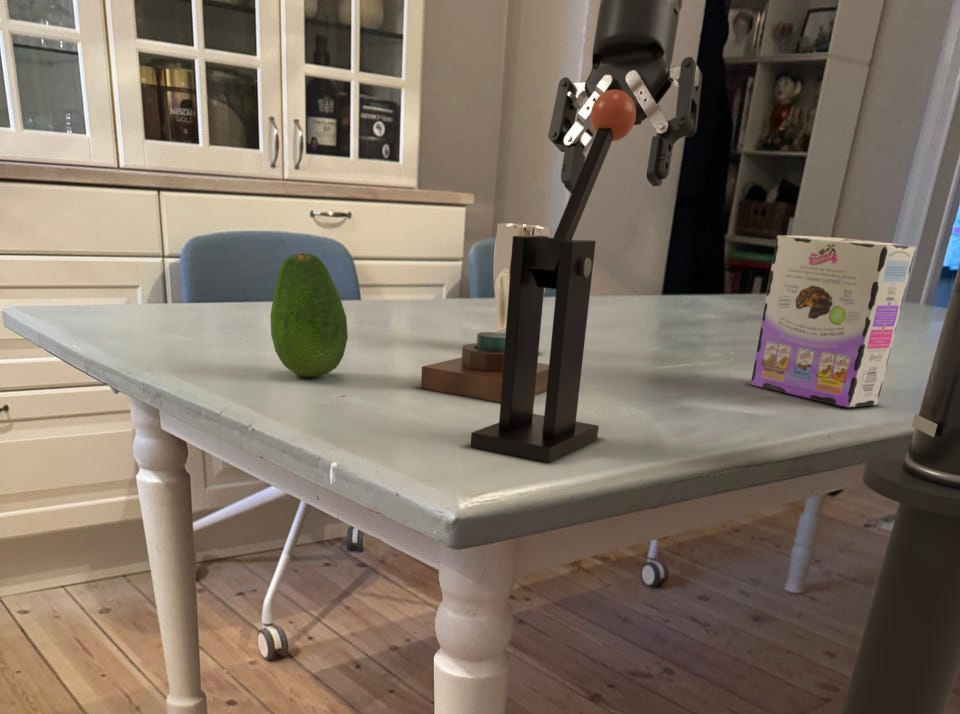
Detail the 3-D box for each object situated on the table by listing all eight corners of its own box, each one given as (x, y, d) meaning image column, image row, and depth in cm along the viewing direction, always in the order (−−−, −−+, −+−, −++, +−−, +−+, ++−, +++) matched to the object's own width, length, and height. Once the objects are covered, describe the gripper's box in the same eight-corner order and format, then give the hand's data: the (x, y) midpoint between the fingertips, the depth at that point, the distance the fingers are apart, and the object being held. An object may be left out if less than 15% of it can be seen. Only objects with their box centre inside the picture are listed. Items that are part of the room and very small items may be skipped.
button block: (557, 386, 101) (561, 348, 99) (506, 403, 91) (510, 361, 89) (477, 373, 105) (479, 336, 103) (420, 388, 95) (422, 347, 93)
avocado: (259, 372, 97) (254, 248, 92) (326, 368, 101) (325, 250, 96) (292, 387, 91) (289, 256, 86) (362, 382, 96) (363, 257, 90)
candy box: (879, 406, 103) (920, 244, 95) (847, 410, 99) (886, 243, 92) (779, 381, 112) (809, 234, 105) (747, 384, 109) (775, 232, 102)
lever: (604, 114, 77) (595, 78, 73) (645, 116, 75) (637, 78, 72) (531, 291, 74) (518, 261, 70) (573, 296, 72) (561, 265, 69)
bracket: (525, 425, 83) (541, 233, 76) (597, 439, 80) (621, 241, 73) (470, 447, 75) (483, 235, 68) (548, 463, 72) (569, 243, 65)
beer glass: (533, 348, 124) (544, 225, 117) (547, 357, 118) (559, 228, 111) (482, 346, 122) (490, 222, 116) (494, 355, 116) (503, 225, 109)
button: (516, 352, 97) (518, 335, 96) (500, 356, 94) (502, 338, 93) (486, 348, 98) (487, 330, 98) (470, 351, 96) (471, 334, 95)
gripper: (554, 1, 88) (528, 176, 89) (699, -31, 80) (669, 160, 81) (587, 46, 94) (562, 209, 95) (724, 21, 87) (696, 197, 88)
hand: (611, 186), depth 88 cm, fingers open, 8 cm apart
